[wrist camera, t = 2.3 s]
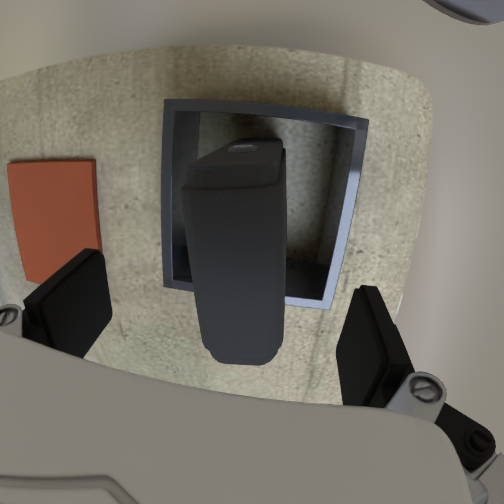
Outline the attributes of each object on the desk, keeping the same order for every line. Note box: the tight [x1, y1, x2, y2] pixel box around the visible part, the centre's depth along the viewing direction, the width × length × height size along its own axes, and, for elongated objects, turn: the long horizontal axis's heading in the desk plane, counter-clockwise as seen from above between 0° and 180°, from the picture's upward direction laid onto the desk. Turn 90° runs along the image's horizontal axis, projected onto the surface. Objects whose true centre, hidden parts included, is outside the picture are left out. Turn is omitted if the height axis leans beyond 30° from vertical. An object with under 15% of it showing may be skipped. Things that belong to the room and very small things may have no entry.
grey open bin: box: [161, 99, 369, 310], centre depth 23 cm, size 14×13×6 cm
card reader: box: [180, 137, 287, 366], centre depth 18 cm, size 9×4×15 cm, turn 3°
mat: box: [7, 160, 103, 284], centre depth 29 cm, size 15×13×1 cm
